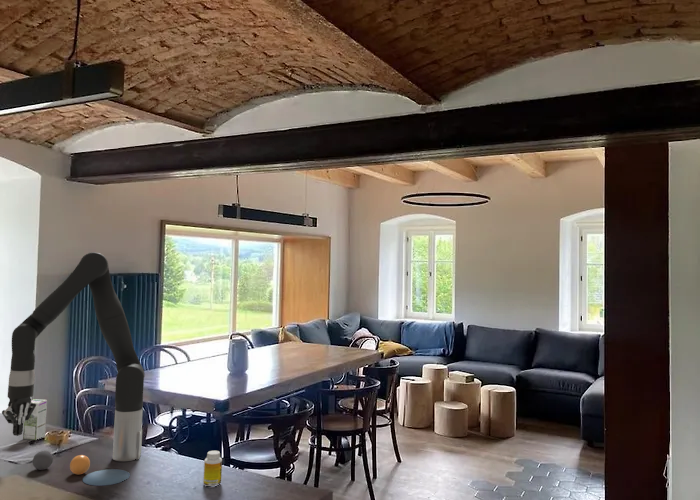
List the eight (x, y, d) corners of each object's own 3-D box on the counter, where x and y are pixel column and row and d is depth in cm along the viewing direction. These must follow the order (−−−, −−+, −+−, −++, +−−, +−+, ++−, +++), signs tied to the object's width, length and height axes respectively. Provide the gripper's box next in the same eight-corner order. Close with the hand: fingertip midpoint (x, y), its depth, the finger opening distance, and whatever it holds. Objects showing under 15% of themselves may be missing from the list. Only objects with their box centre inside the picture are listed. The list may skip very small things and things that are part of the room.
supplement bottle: (222, 487, 178) (223, 454, 178) (204, 489, 176) (205, 455, 177) (219, 480, 183) (221, 449, 184) (202, 482, 181) (203, 450, 182)
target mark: (132, 468, 191) (132, 468, 191) (126, 484, 177) (126, 483, 177) (87, 470, 188) (87, 470, 188) (78, 486, 174) (78, 486, 174)
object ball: (91, 470, 188) (92, 452, 188) (87, 476, 182) (88, 458, 183) (71, 471, 187) (72, 452, 187) (67, 477, 181) (68, 458, 181)
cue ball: (54, 465, 191) (55, 448, 191) (49, 472, 185) (50, 453, 185) (35, 466, 190) (36, 448, 190) (29, 473, 184) (30, 454, 184)
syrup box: (45, 436, 223) (47, 399, 224) (35, 440, 217) (38, 402, 218) (32, 435, 224) (34, 398, 224) (22, 439, 218) (24, 401, 218)
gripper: (15, 387, 183) (11, 441, 183) (45, 380, 196) (41, 431, 195) (-4, 385, 185) (-9, 439, 184) (26, 378, 198) (23, 428, 197)
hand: (17, 434), depth 190 cm, fingers closed
